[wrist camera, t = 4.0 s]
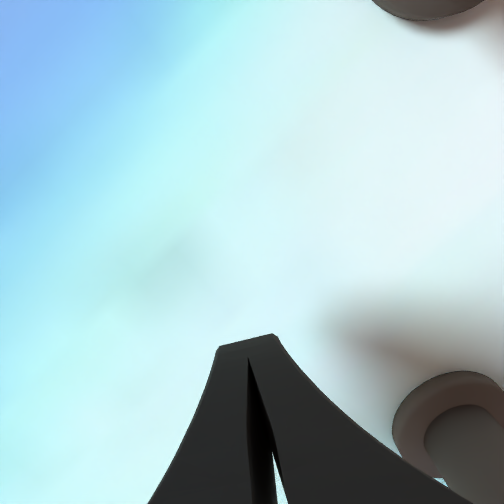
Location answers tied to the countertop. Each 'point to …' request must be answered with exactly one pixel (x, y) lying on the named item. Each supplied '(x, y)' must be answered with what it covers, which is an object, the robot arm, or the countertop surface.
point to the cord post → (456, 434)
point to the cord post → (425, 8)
